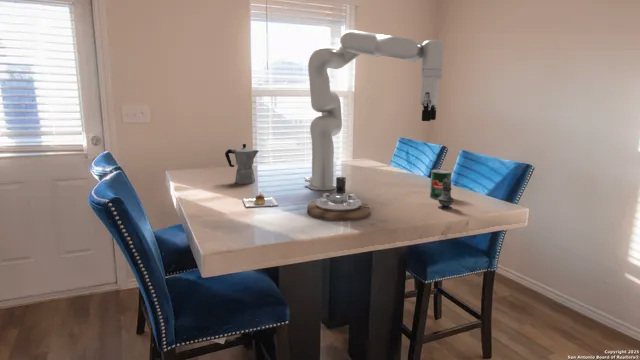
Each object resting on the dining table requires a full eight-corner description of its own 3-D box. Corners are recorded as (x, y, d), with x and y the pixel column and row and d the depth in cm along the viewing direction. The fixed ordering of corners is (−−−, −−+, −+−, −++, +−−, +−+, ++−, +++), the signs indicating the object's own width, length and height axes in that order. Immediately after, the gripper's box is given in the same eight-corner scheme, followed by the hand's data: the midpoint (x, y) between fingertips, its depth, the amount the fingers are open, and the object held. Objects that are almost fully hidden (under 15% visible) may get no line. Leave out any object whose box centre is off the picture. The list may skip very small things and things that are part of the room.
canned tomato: (444, 195, 177) (446, 169, 175) (453, 199, 169) (455, 172, 167) (426, 195, 176) (428, 169, 174) (434, 200, 168) (436, 172, 166)
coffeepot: (258, 179, 205) (257, 142, 201) (260, 183, 196) (259, 144, 192) (225, 180, 201) (224, 143, 198) (226, 184, 192) (224, 145, 189)
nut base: (295, 215, 145) (295, 208, 145) (323, 201, 164) (323, 195, 164) (356, 224, 136) (356, 217, 135) (377, 208, 155) (378, 202, 155)
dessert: (245, 209, 153) (245, 196, 153) (242, 201, 165) (242, 189, 164) (278, 207, 157) (278, 195, 156) (273, 200, 168) (273, 188, 167)
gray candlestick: (434, 206, 159) (436, 174, 157) (450, 205, 159) (452, 174, 157) (440, 210, 153) (442, 177, 151) (456, 210, 154) (458, 177, 151)
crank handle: (360, 212, 141) (361, 191, 140) (313, 210, 143) (313, 189, 141) (361, 195, 164) (362, 177, 163) (320, 194, 166) (320, 176, 164)
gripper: (426, 75, 169) (423, 119, 173) (416, 73, 154) (413, 121, 157) (445, 75, 166) (442, 119, 169) (437, 73, 151) (434, 121, 154)
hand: (428, 120), depth 163 cm, fingers open, 9 cm apart
